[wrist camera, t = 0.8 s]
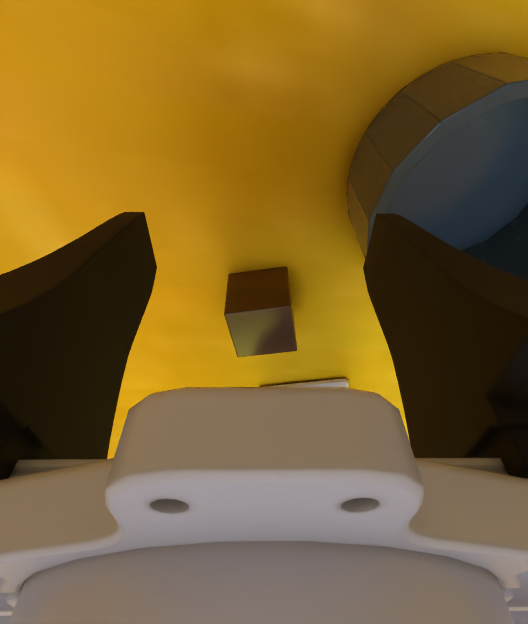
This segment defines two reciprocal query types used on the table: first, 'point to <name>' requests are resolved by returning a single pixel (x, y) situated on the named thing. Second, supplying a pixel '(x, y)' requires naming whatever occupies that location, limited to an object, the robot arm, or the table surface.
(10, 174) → the table surface
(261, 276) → the block
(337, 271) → the table surface
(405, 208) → the tin
